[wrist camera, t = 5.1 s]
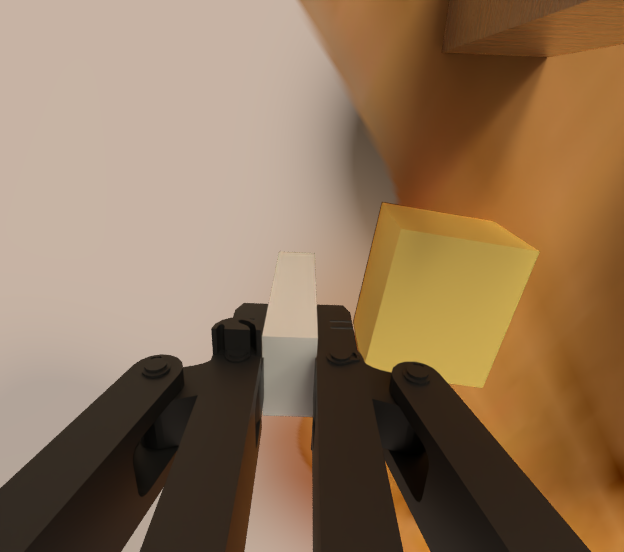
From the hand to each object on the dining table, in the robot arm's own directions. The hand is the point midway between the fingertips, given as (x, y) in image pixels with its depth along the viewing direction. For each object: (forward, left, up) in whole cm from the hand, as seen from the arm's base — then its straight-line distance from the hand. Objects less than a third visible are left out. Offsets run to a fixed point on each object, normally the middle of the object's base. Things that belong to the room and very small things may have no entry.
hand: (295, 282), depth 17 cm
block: (0, +6, -2) cm, 6 cm away
